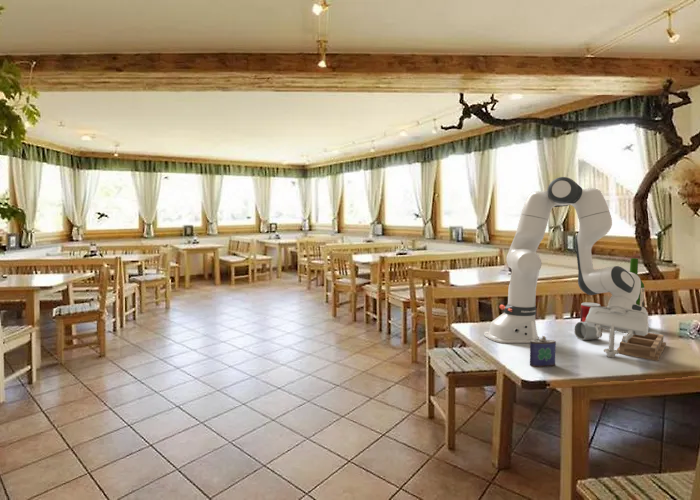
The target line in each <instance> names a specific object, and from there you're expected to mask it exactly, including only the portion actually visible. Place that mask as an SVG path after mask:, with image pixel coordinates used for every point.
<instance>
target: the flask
mask: <svg viewBox="0 0 700 500" xmlns="http://www.w3.org/2000/svg"><path fill="white" fill-rule="evenodd" d="M556 343H557V341H556V340H555V339H554V340H553V339H548V337H546V336H545V335H542V337H541V338H540V339H537V340H536V339H535V340H532V341H530V344H529V345H530V347H529V366H530V367H534V368H545V367H547V368H548V367H555V366H556V350H557V349H556V348H557V346H556Z"/></svg>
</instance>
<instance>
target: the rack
mask: <svg viewBox="0 0 700 500" xmlns="http://www.w3.org/2000/svg"><path fill="white" fill-rule="evenodd" d="M664 336H665V335H664V334H661V333H654V332H648V334H647V335H645V336H641V335H635V334H634V335H633V337H631V338H630V339H628V342H627V343H626V342H622V340H621V341H620V342H619V347H618V348H617V349H616V350H617V351H618V352H619V354H620V355H626V356H629V357H630V356H631V357H637V358H641V359H645V360H652V361H657V362H658V361H659V360H660V358H661V356H662V354H663V352H664V350H665V349H666V346H667V342H665V341H664Z"/></svg>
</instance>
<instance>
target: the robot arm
mask: <svg viewBox="0 0 700 500" xmlns="http://www.w3.org/2000/svg"><path fill="white" fill-rule="evenodd" d="M568 206H571V207H573V208H574V209H575V212H576V214H577V219H578V224H579V227H578V228H579V229H578V233H576V236H575V250H576V251H575V252H576V253H575V254H576V261H577V272H578V275H577V284H578V288H579V289H580V290H581V291H582V292H583V293H584V294H586V295H588V296H595V295H599V294H605V293H610V294H611V296H610V298H609V300H608V304H607V306H601V305H600V306H593V307H591V308H590V309H589V313H588V315H587V317H586V323H587V325H588V326H591V327H596V330H597V333H596V336H597V337H600V338H599V339H601V338H602V336H603V331H602V332H600V331H599V330H601V329H603V330H608V331H610V327H611V323H613V324H614V329H615V330H614V331H615V332H620V333H625V334H626V335H622V338H621V341H622V342H626V343H627V342H628V339H630V338H631V337H633V335H634V334H635V335H641V336H645V335H647V334H648V333H649V328H650V326H649V319H648V318H649V314H648V310H647V309H646V307H644V306H643V307H642V306H639V305H637V304H636V301H637V299H638V297H639V294H640V289H641V281H642V280H640V279H641V278H640V276H639V275H638V276H639V277H638V276H637V275H636V274H634V273H632V272H630V271H627V269H625V268H623V267H622V266H619V265H617V266H616V265H615V266H609V267H608V266H607V267H604V268H598V269H595V268H594V265H593V255H592V249H593V246H594V245H595V244H596V243H597V242H598V241H599V240H601V239H602V238H603V237H605V236H606V235H607V234H608V233H609V232H610V230H611V228H612V226H613V218H612V215H611V212H610V209H609V205H608V203H607V201H606V198H605V196H604V195H603V193H602V191H601V190H599V189H598V188H594V187H591V188H590V187H589V188H584V189H583V187H582V186H581V185H579V184H578V183H577V182H576V181H575V180H574V179H571V178H570V177H566V176H559V177H557V178H555V179H552V181H551V182H550V183H549V184H548V187H547V189H546V190H544V191H540V190H536V191H533V192H531V193H529V194H528V196H527V197H526V200H525V202H524V204H523V207H522V210H521V214H520V217H519V220H518V224H517V227H516V231H515V234H514V236H513V239H512V242H511V244H510V246H509V248H508V252H507V254H506V259H505V261H506V264H507V266H508V267H509V268H510V269H511V274H510V279H509V285H508V293H507V294H508V295H507V304H506V305H504V304H500V305H499V309H500V310H503V312H502V314H500V315H499V316H497V317H496V318H494V320H492V321H491V322H490V326H489V331H484V337H486V338H487V339H489V340H491V341H494V342H496V343H501V344H506V343H509V344H511V343H513V344H525V343H527V344H529V343H530V341H532V340H535V339H536V340H539V336H538V335H539V334H538V331H537V324H536V316H537V305H536V297H537V296H536V295H537V294H536V293H537V285H538V279H539V274H540V270H541V268H542V259H541V258H540V256H539V254H538V253H537V250H538V248H539V245H540V244H541V242H542V241H543V239H544V237H545V233H546V229H547V226H548V223H549V219H550V214H551V212H552V209H553V208H562V207H568Z"/></svg>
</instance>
